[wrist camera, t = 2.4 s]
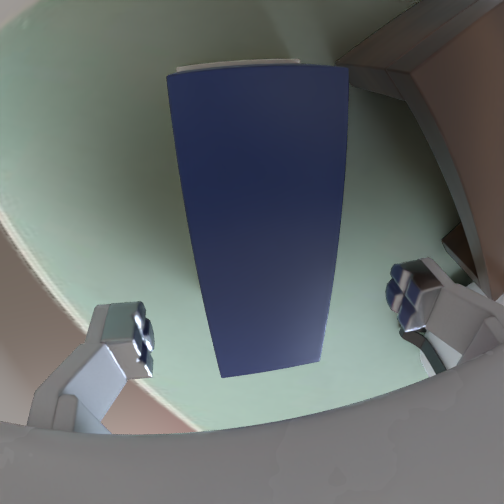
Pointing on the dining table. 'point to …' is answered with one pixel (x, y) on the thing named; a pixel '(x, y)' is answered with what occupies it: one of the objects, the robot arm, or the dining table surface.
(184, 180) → the navy block white base
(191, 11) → the dining table surface
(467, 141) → the shelf
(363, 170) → the dining table surface
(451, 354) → the coffee press
